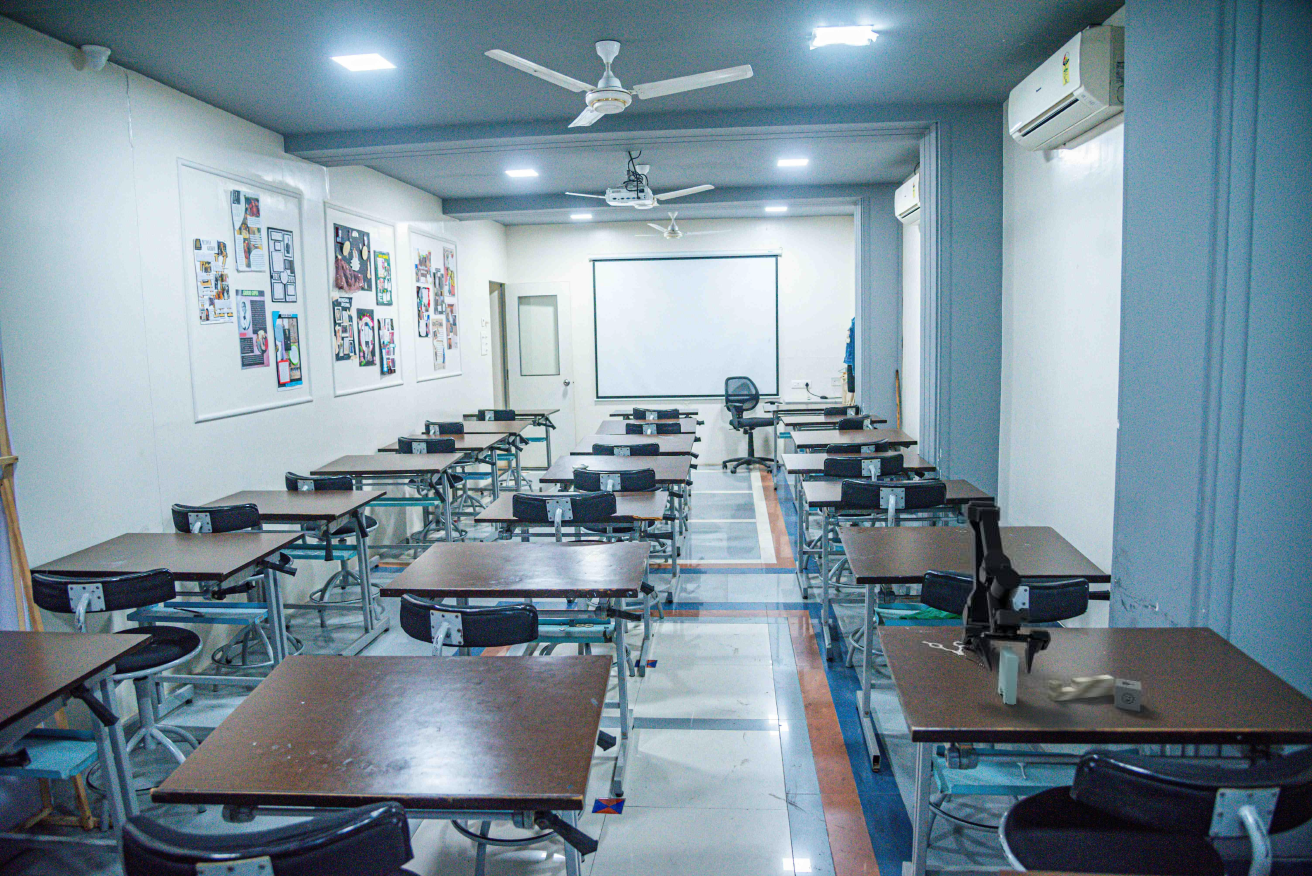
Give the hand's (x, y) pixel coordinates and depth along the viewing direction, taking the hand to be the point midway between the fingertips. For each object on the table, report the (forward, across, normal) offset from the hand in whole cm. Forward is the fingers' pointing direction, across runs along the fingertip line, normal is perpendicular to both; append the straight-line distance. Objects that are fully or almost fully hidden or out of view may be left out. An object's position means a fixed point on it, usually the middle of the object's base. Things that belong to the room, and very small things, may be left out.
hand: (1009, 672), depth 196 cm
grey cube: (+3, +26, +7) cm, 27 cm away
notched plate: (+4, 0, +6) cm, 7 cm away
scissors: (-15, -6, +25) cm, 30 cm away
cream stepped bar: (+1, +17, +9) cm, 19 cm away
